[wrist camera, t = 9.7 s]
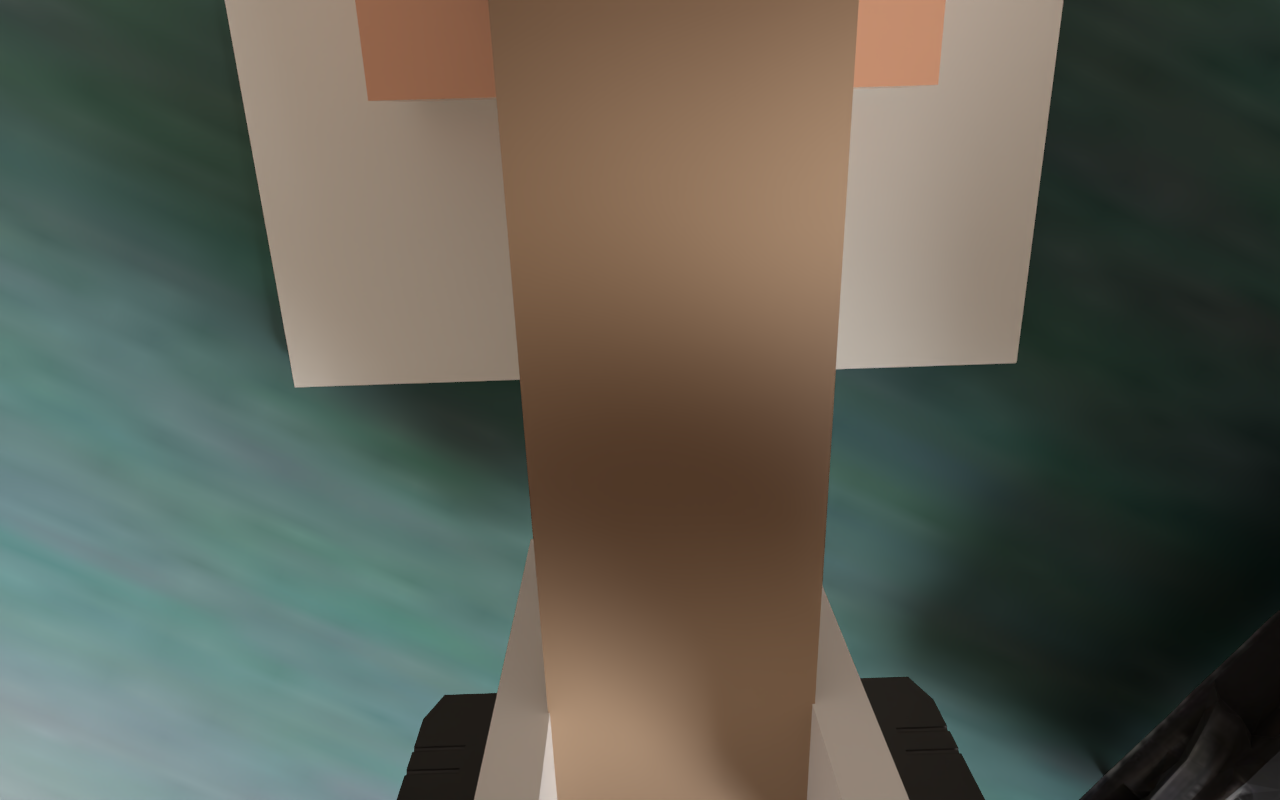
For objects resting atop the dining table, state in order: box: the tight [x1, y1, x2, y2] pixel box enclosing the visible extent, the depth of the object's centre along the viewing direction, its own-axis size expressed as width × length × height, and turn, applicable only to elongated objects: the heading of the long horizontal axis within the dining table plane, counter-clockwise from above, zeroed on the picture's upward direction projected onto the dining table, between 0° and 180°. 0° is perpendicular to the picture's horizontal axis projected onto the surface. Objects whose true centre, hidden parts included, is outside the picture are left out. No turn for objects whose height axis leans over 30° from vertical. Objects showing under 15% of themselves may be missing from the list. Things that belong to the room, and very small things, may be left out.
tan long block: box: [488, 0, 859, 800], centre depth 12 cm, size 15×6×5 cm, turn 1°
